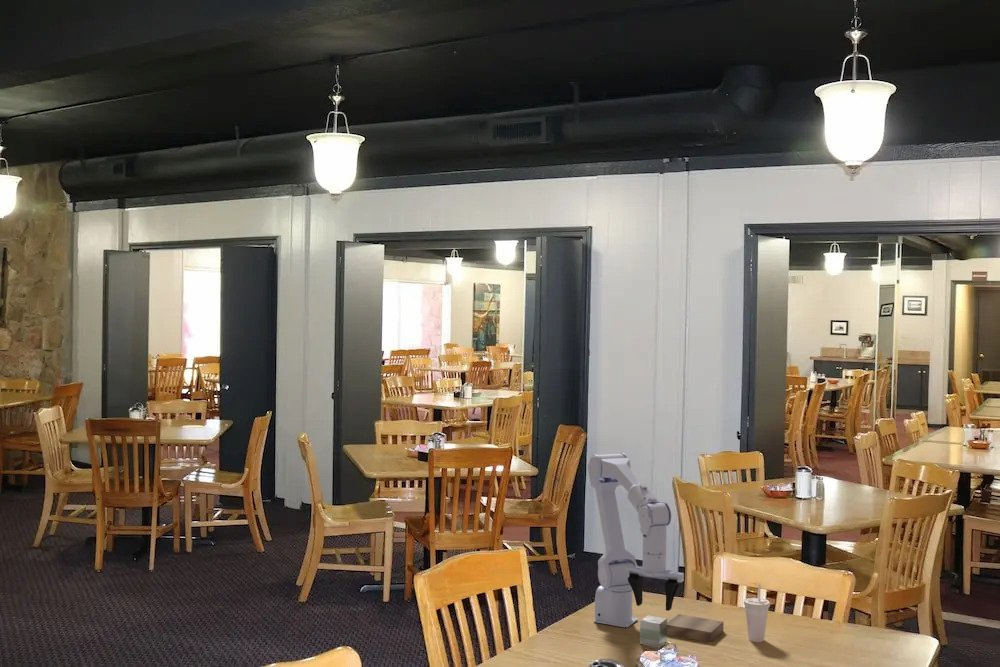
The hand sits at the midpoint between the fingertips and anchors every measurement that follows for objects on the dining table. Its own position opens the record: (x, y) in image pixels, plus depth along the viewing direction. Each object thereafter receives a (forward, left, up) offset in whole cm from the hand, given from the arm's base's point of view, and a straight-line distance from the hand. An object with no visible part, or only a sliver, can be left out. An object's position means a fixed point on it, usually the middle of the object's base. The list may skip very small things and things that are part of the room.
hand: (653, 607), depth 238 cm
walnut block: (+6, +13, -10) cm, 17 cm away
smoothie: (+21, +16, -9) cm, 28 cm away
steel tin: (0, 0, -9) cm, 9 cm away
